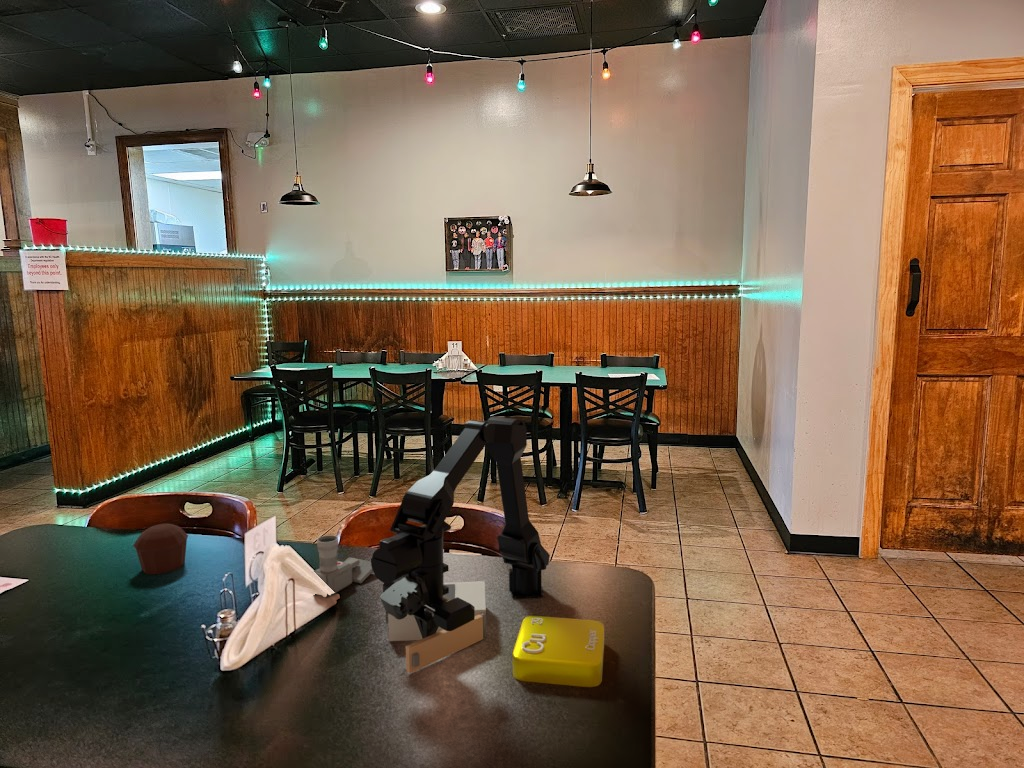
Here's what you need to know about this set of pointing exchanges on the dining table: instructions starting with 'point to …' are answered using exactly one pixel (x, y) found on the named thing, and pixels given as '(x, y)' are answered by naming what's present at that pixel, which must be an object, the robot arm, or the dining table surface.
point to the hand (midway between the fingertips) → (427, 644)
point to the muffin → (161, 548)
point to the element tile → (559, 651)
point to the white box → (463, 590)
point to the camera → (339, 565)
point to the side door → (444, 643)
